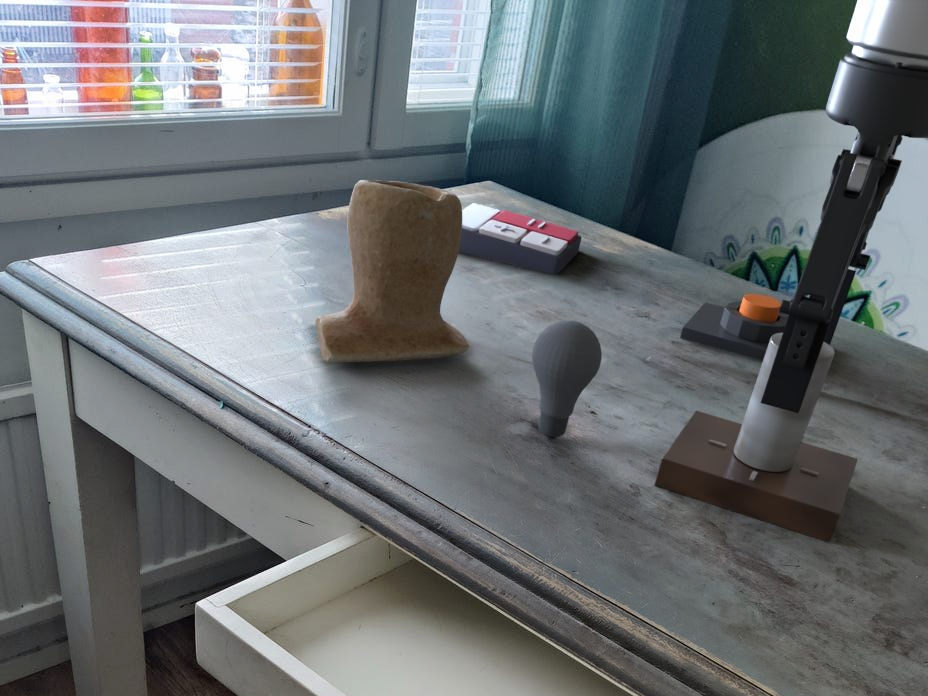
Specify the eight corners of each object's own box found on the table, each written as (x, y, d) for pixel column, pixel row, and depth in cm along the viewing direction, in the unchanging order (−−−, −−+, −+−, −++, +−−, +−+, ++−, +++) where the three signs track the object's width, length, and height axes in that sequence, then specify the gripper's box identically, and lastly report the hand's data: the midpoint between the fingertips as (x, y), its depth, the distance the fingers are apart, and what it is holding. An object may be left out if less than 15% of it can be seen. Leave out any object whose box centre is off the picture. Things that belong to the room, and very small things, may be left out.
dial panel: (846, 484, 83) (858, 456, 82) (828, 542, 75) (841, 512, 74) (688, 435, 87) (696, 408, 86) (654, 485, 79) (662, 456, 78)
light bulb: (535, 416, 87) (557, 304, 80) (592, 437, 85) (619, 323, 79) (506, 437, 83) (526, 321, 77) (565, 460, 81) (591, 342, 75)
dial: (740, 438, 82) (778, 323, 76) (797, 455, 81) (840, 340, 75) (727, 459, 79) (766, 341, 73) (786, 478, 77) (831, 359, 71)
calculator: (562, 251, 114) (441, 216, 116) (553, 288, 116) (435, 253, 119) (584, 229, 122) (471, 197, 125) (575, 264, 125) (465, 232, 127)
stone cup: (431, 322, 101) (448, 165, 92) (480, 370, 93) (504, 203, 84) (288, 328, 96) (291, 162, 86) (327, 380, 87) (335, 202, 78)
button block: (814, 352, 108) (827, 316, 106) (799, 381, 101) (812, 344, 98) (699, 321, 112) (709, 285, 109) (677, 347, 104) (687, 310, 102)
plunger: (779, 316, 105) (784, 300, 104) (772, 327, 102) (778, 310, 101) (742, 307, 106) (747, 290, 105) (734, 317, 103) (739, 300, 102)
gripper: (956, 90, 52) (821, 451, 65) (973, 52, 70) (865, 339, 84) (814, 65, 54) (710, 420, 67) (866, 34, 73) (777, 317, 86)
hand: (796, 376), depth 75 cm, fingers open, 13 cm apart
